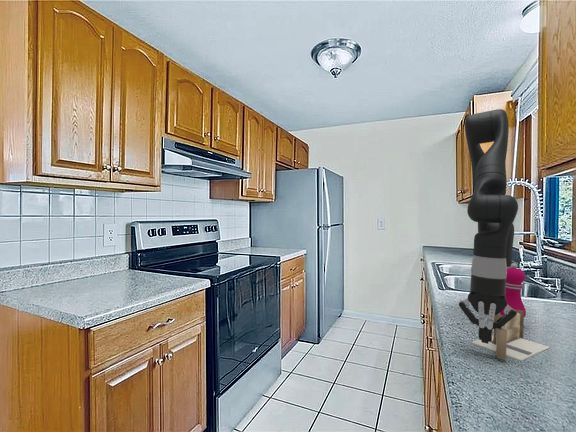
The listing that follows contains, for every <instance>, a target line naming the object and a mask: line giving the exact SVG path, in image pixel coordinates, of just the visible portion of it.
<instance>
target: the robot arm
mask: <svg viewBox="0 0 576 432" xmlns="http://www.w3.org/2000/svg"><path fill="white" fill-rule="evenodd" d="M509 127H510V125H509V117H508V114H507V112H506V110H505V109H502V108H499V109H493V110H487V111H483V112H482V111H481V112H478V113H472V114H469V115H467V116H466V118H465V119H464V132H465V137H466V138H465V139H466V144H467V148H468V152H469V159H470V164H471V177H472V185H473V186H472V187H473V193H472V196H471V197H470V200H469V201H468V206H467V207H466V208H467V210H466V211H467V215H468V217H469V219H470V220H471V221H472V222H475V223H477V232H476V234H475V235H474V238H473V255H472V259H471V260H472V261H471V269H470V286H469V287H470V288H469V294H468V295H467V298H465V299H463V300H459V301H458V306H459V308H460V309H461V311H462V312H463V313H464V315H465V316H466V317H467V318H468V320H469V321H470V323H471V324H472V325H476V326H478V340H481V341H482V343H487V344H488V342H491V340H492V335H493V331H494V329H495V328H501V327H503V326H504V325H505V324H506V323H507V322H509V321H510V320H511V319H512V318H513V317H515V316H516V315H517V313H516V310H515V309H513V308H511V307H510V306H509V305H507V300H506V299H505V291H506V276H507V268H511V264H512V263H513V246H514V241H515V240H514V238H515V226H514V222H515V219H516V216H517V214H518V212H519V203H518V201H517V200H516V198H515V197H514V196H513V195H509V194H507V188H508V187H507V186H508V183H507V182H508V179H507V169H506V161H507V152H508V145H509ZM488 143H491V145H490V147H489V148H488V150H486V152H485V151H484V150H483V148H482V146H481V144H488ZM470 305H471V306H472V308H473V310H474V311H475V312H476V313H478V318H477V317H476V316H475V314H474V313H473V312H472V311H471V309H470ZM504 308H505V310H504V313H505V314H504V315H503V316H501V317H500V318H499V319H498V320H497V321H495V322H494V316H495V315H501V314H500V312H501V311H502V310H503V309H504ZM485 315H487V316H486V317H487V318H486V323H485Z"/></svg>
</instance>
